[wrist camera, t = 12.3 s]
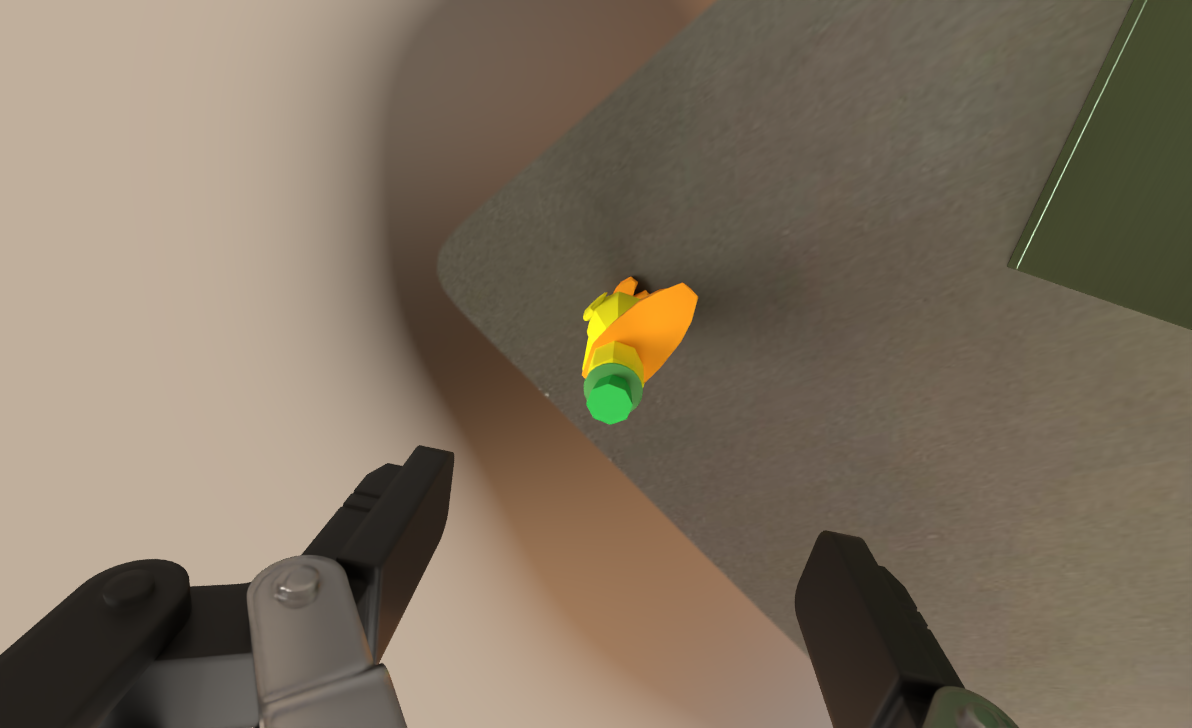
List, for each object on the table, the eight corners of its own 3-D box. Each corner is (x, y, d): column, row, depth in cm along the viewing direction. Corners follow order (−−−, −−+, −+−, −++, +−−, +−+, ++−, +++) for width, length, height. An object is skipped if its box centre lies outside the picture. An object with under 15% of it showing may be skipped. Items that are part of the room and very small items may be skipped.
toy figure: (651, 226, 29) (660, 280, 18) (700, 273, 30) (740, 353, 18) (565, 319, 31) (525, 420, 20) (613, 361, 32) (601, 481, 21)
